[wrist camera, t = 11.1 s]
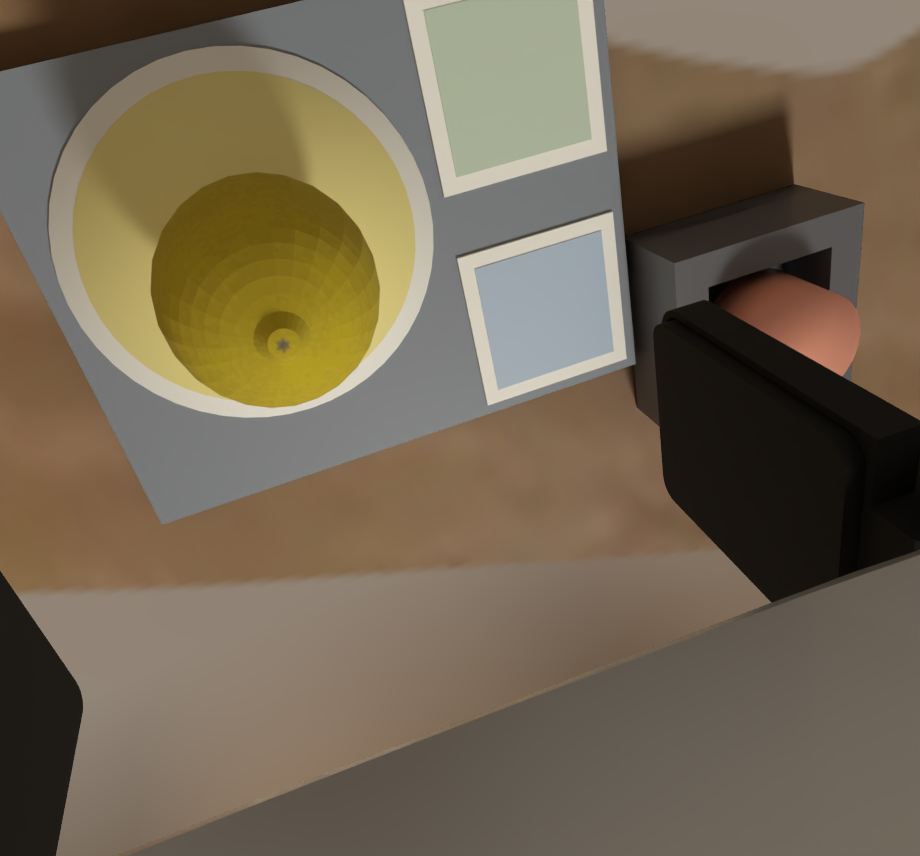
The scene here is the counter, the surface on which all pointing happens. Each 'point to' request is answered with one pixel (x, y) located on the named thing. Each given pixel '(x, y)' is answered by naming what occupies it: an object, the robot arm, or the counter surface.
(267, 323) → the lemon
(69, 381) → the counter surface
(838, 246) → the button box
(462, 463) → the counter surface
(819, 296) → the button
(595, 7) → the picture board
